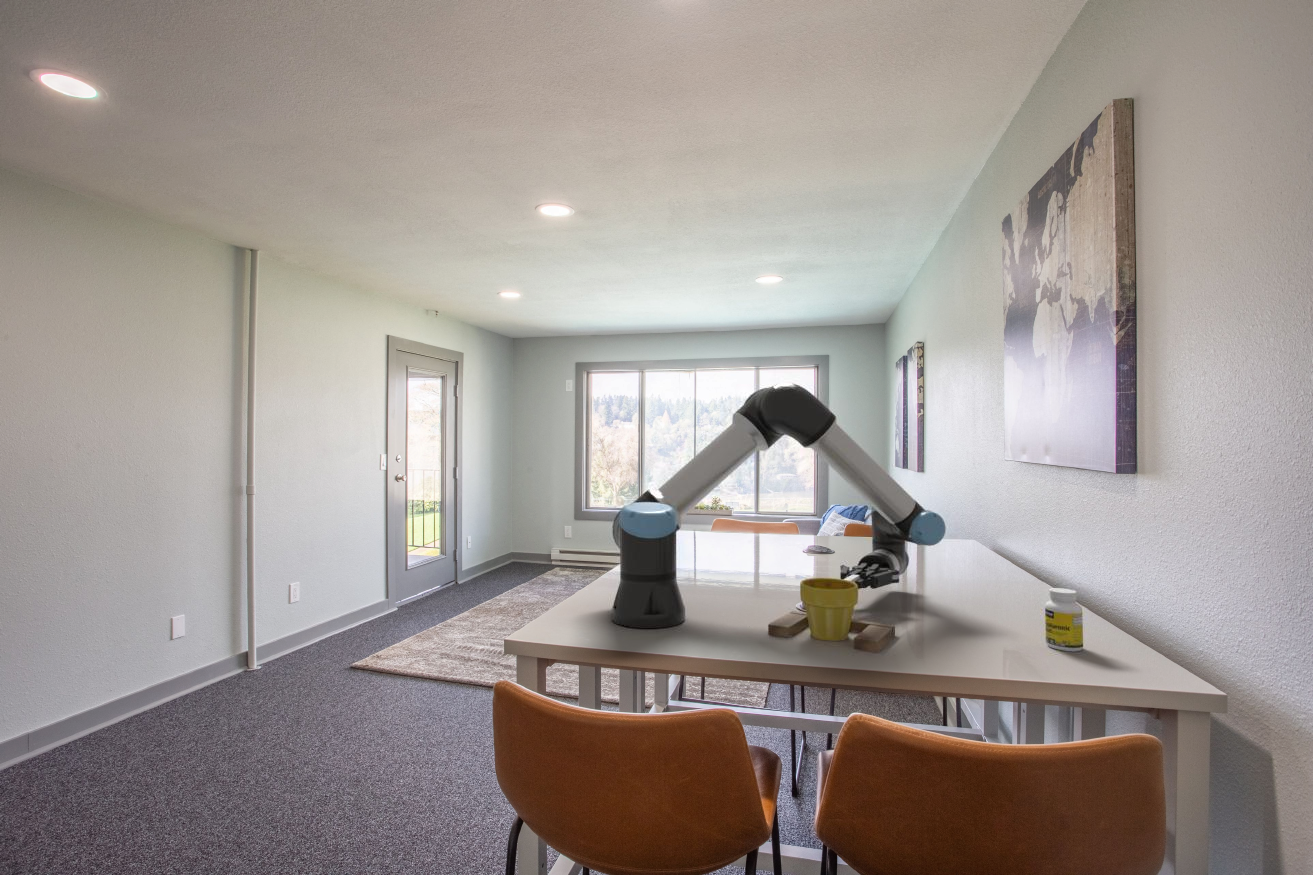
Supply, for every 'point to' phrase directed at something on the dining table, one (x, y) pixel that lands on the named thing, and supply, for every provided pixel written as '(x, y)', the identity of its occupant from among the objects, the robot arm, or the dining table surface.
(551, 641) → the dining table surface
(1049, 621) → the supplement bottle
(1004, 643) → the dining table surface
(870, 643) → the brown u-shaped block
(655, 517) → the robot arm
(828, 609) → the plant pot
